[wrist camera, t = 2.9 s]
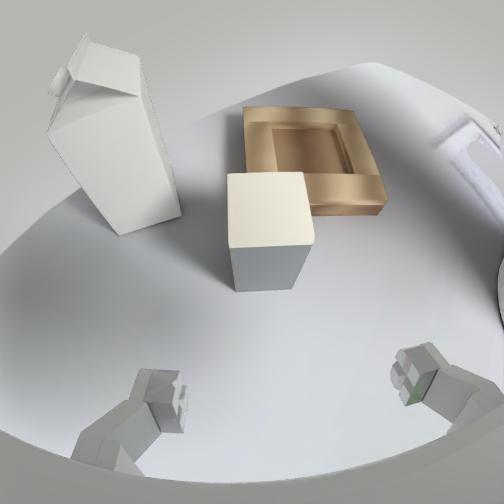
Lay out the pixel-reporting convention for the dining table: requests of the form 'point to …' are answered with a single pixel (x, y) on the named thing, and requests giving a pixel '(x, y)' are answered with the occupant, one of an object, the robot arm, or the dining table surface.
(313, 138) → the square wooden tray
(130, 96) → the milk carton
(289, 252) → the plain greyish beige box
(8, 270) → the dining table surface
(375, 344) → the dining table surface
